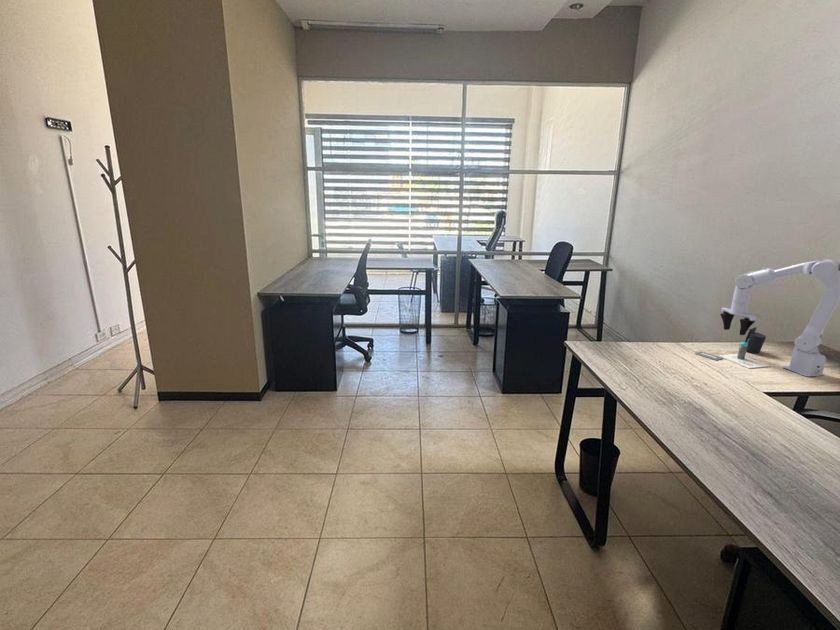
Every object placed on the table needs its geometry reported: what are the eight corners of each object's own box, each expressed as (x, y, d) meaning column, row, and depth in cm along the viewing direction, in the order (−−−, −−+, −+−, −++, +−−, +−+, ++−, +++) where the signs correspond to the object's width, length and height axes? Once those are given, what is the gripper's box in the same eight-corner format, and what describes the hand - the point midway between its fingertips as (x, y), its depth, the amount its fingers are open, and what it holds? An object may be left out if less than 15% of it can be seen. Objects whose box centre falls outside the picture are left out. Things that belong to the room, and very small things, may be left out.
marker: (745, 359, 176) (749, 344, 174) (738, 359, 176) (742, 343, 174) (742, 357, 178) (746, 342, 176) (735, 357, 179) (739, 341, 177)
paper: (769, 366, 170) (769, 365, 169) (748, 368, 168) (748, 367, 168) (737, 354, 183) (737, 353, 183) (718, 356, 181) (718, 355, 181)
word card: (723, 358, 178) (723, 357, 178) (716, 360, 176) (716, 359, 176) (701, 351, 186) (701, 351, 186) (694, 353, 184) (694, 353, 184)
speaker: (736, 347, 190) (744, 326, 186) (747, 347, 191) (755, 326, 187) (751, 355, 183) (759, 333, 180) (762, 355, 184) (770, 333, 180)
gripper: (764, 305, 172) (757, 336, 176) (733, 297, 186) (727, 326, 189) (750, 306, 171) (743, 337, 174) (719, 298, 184) (714, 327, 188)
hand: (734, 332), depth 182 cm, fingers open, 7 cm apart
